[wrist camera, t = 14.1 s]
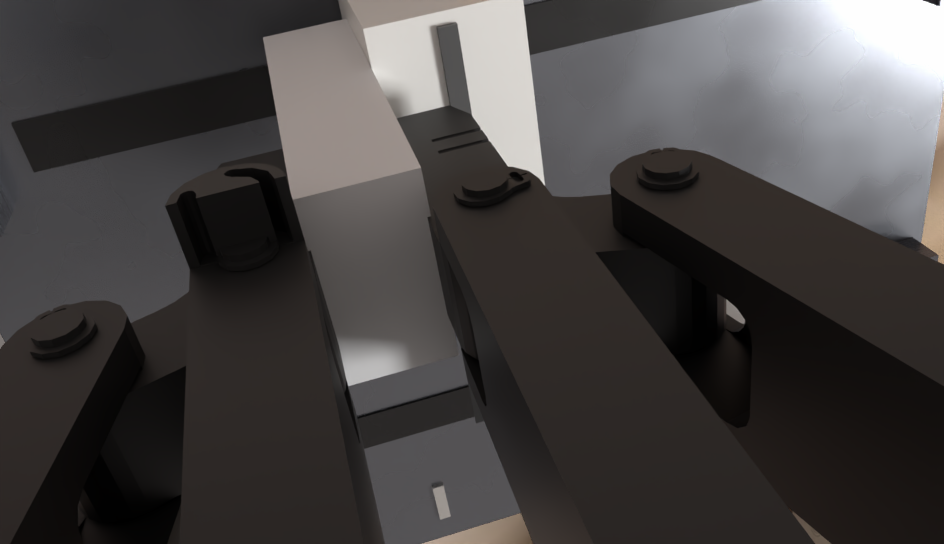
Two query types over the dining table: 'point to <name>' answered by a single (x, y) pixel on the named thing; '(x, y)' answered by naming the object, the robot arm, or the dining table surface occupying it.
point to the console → (561, 140)
